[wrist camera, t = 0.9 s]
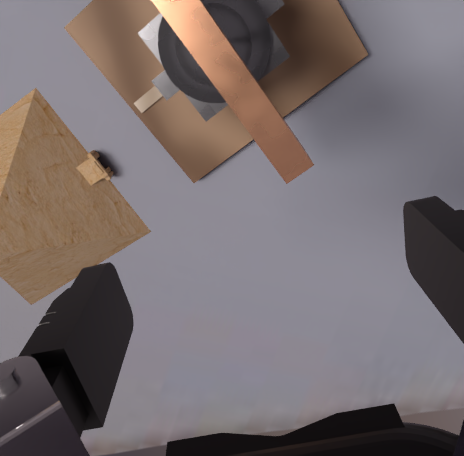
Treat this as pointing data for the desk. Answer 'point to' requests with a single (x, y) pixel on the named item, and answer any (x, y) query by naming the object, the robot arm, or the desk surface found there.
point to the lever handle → (226, 68)
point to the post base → (225, 121)
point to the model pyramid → (54, 202)
